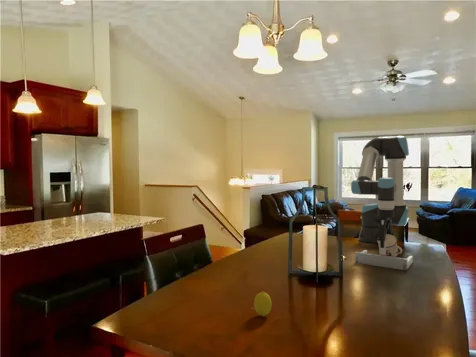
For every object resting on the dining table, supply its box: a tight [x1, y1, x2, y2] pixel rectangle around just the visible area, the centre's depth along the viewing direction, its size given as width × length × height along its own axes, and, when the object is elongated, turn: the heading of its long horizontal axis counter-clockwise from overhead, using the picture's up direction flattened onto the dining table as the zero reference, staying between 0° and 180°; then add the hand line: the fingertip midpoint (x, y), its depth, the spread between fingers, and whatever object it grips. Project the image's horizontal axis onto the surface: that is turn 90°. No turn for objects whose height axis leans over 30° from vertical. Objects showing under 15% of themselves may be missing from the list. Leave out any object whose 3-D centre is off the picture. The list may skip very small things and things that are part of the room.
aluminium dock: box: [354, 249, 414, 271], centre depth 167 cm, size 16×23×5 cm
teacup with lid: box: [377, 234, 403, 257], centre depth 172 cm, size 12×9×12 cm
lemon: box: [253, 291, 272, 318], centre depth 108 cm, size 6×6×8 cm
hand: (385, 251), depth 171 cm, fingers open, 13 cm apart
